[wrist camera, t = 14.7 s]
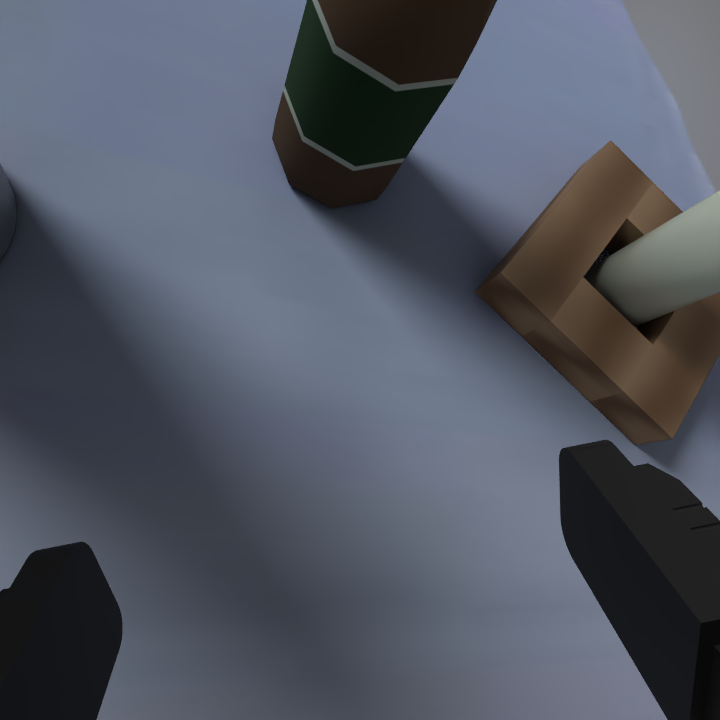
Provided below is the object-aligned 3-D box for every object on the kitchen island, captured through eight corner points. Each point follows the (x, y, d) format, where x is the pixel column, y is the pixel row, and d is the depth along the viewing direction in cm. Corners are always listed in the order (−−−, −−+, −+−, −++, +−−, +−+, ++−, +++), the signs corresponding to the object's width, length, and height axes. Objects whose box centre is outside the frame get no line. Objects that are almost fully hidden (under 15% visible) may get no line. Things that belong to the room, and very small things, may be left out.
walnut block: (475, 291, 36) (500, 272, 33) (581, 165, 41) (610, 140, 39) (634, 444, 37) (672, 438, 34) (718, 301, 42) (757, 285, 39)
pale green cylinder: (564, 297, 38) (744, 197, 26) (598, 252, 40) (781, 138, 28) (616, 348, 38) (818, 271, 26) (647, 300, 40) (850, 209, 28)
